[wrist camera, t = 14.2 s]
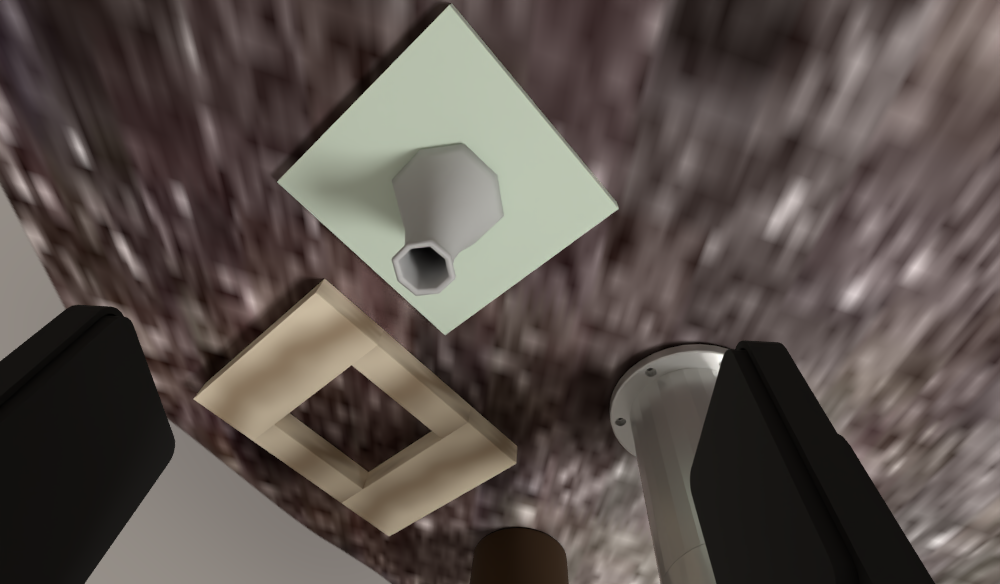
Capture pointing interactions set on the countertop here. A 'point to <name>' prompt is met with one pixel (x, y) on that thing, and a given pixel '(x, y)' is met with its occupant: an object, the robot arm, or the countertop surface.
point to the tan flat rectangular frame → (366, 346)
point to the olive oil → (519, 559)
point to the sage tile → (444, 122)
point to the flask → (442, 213)
